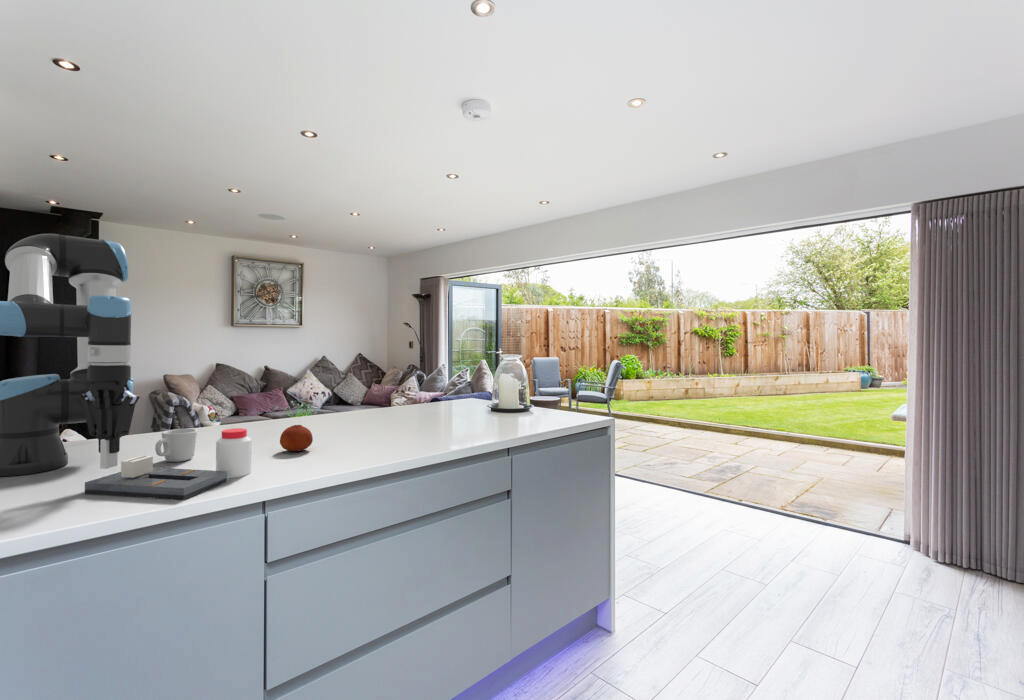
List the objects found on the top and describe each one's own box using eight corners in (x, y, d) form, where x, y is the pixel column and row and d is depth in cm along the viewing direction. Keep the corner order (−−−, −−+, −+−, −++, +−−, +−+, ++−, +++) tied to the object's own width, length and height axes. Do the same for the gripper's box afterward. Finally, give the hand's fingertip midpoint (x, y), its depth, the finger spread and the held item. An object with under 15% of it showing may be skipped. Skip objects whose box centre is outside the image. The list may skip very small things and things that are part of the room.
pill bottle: (257, 469, 123) (257, 427, 123) (241, 478, 115) (241, 433, 115) (226, 469, 123) (227, 427, 123) (208, 478, 115) (209, 433, 115)
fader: (119, 483, 105) (119, 460, 105) (138, 477, 110) (139, 455, 110) (135, 484, 105) (135, 461, 105) (154, 477, 110) (154, 456, 110)
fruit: (273, 453, 141) (273, 426, 140) (293, 447, 149) (293, 421, 149) (298, 455, 138) (299, 428, 138) (318, 449, 147) (318, 423, 147)
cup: (169, 467, 123) (169, 436, 123) (144, 465, 125) (144, 434, 125) (203, 457, 134) (204, 429, 134) (180, 455, 135) (180, 427, 135)
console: (84, 494, 102) (84, 481, 102) (138, 476, 115) (138, 466, 115) (183, 500, 99) (184, 487, 99) (227, 481, 112) (227, 470, 112)
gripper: (66, 363, 105) (66, 470, 105) (120, 365, 103) (119, 473, 104) (99, 362, 112) (99, 461, 112) (150, 364, 111) (149, 464, 111)
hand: (108, 467), depth 108 cm, fingers closed
